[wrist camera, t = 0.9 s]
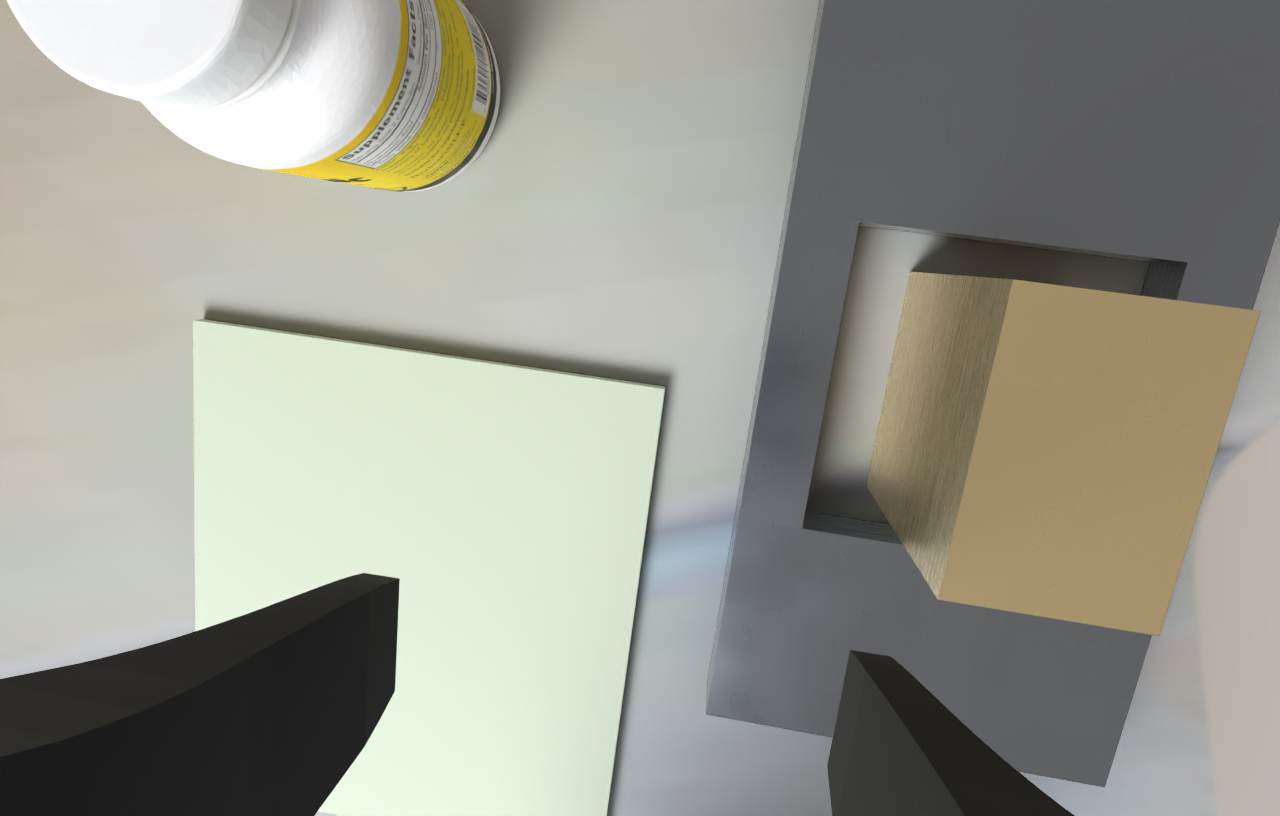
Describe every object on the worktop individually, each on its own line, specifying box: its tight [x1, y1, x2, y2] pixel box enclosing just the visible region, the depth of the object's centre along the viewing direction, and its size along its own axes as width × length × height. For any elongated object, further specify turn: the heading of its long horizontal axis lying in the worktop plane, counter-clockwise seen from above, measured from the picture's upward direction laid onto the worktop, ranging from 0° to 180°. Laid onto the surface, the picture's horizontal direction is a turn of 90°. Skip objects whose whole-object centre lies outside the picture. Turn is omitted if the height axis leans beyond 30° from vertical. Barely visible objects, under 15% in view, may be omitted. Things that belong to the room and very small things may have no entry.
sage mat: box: [193, 319, 666, 816], centre depth 23 cm, size 16×14×1 cm
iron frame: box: [706, 0, 1280, 787], centre depth 19 cm, size 20×11×2 cm, turn 173°
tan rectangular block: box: [866, 272, 1261, 636], centre depth 16 cm, size 6×4×7 cm, turn 173°
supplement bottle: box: [7, 0, 500, 192], centre depth 15 cm, size 5×5×10 cm
